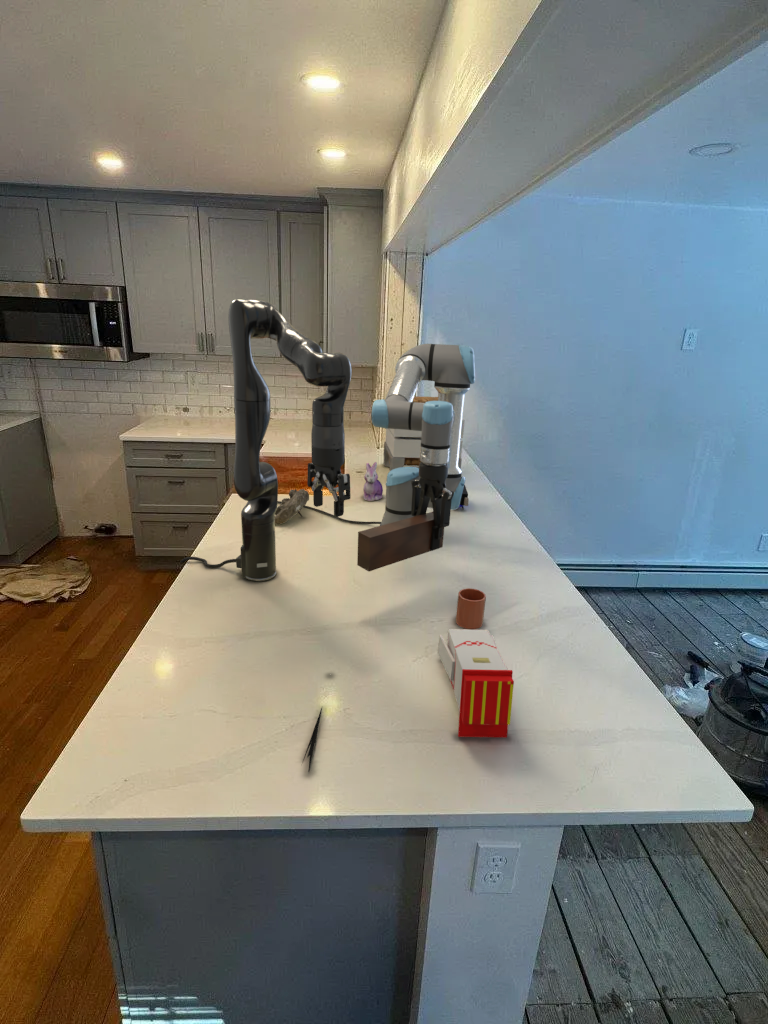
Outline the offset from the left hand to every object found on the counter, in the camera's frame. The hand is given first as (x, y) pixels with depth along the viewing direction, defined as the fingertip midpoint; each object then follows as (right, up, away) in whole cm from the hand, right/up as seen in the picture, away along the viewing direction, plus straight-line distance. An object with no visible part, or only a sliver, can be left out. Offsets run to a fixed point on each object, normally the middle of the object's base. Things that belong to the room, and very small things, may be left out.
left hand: (328, 510), depth 134 cm
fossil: (-21, -2, +77) cm, 80 cm away
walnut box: (+18, -12, +14) cm, 25 cm away
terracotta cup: (+35, -29, +11) cm, 46 cm away
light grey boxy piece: (+30, +18, +141) cm, 145 cm away
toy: (+31, -38, -16) cm, 52 cm away
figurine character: (+43, +2, +97) cm, 106 cm away
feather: (+1, -40, -26) cm, 48 cm away
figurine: (+8, +5, +102) cm, 102 cm away
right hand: (+25, -9, +19) cm, 33 cm away
